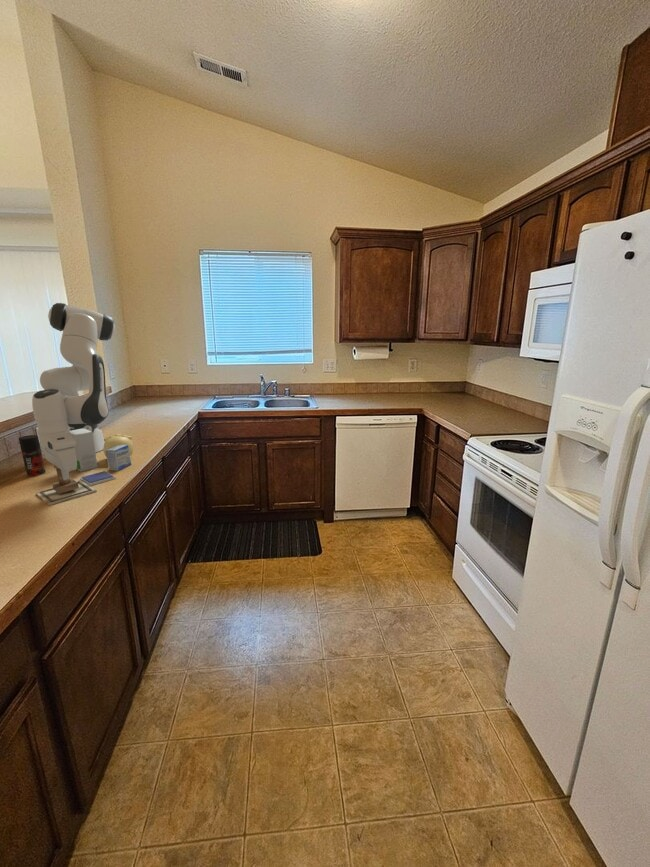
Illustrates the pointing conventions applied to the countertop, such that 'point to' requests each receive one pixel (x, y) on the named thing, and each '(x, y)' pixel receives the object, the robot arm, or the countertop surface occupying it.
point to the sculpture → (118, 442)
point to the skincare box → (84, 449)
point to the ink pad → (97, 478)
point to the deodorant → (32, 455)
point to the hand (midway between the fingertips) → (63, 477)
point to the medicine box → (118, 457)
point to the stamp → (64, 483)
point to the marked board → (65, 494)
